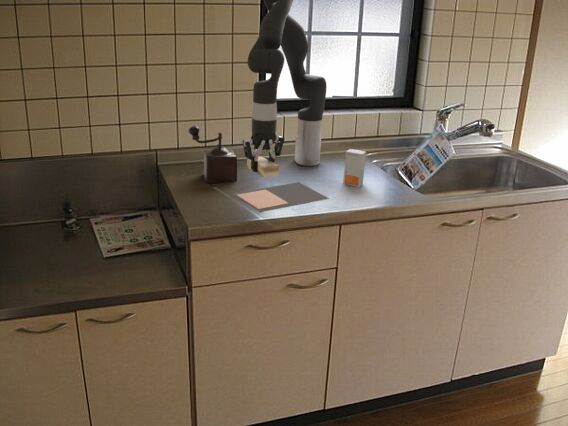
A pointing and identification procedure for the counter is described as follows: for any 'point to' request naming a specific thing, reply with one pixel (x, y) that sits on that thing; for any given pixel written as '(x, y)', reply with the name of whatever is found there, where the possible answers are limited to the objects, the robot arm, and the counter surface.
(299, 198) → the rubber mat
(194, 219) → the counter surface
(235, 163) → the manual coffee grinder
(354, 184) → the skincare box
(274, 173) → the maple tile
